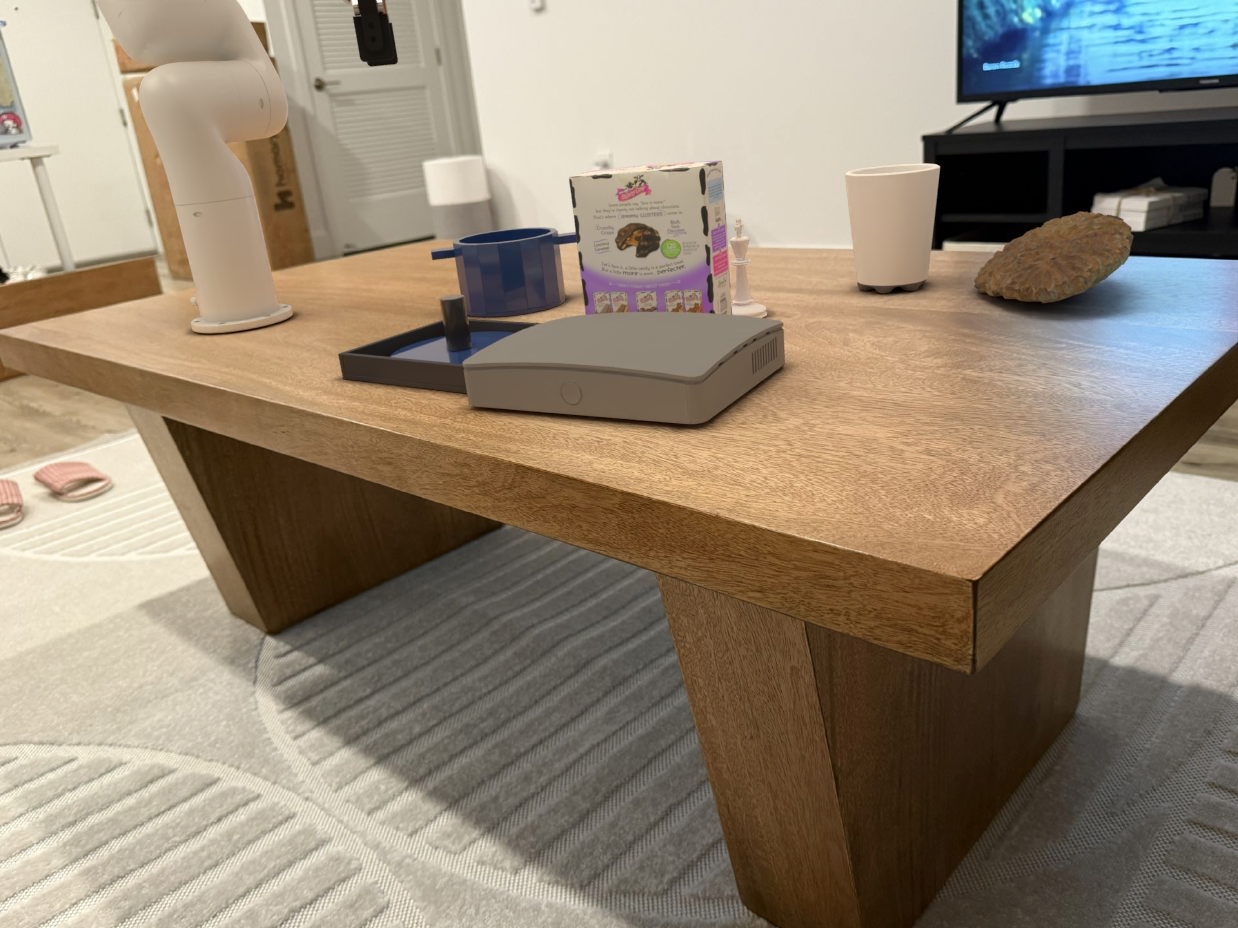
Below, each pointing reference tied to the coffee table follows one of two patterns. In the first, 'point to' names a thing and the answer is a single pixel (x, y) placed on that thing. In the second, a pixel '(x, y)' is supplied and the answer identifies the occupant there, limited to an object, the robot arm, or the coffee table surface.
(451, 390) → the tray
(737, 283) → the chess piece
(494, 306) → the pot
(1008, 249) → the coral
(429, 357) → the lid
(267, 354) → the coffee table surface
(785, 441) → the coffee table surface
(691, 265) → the candy box
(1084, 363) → the coffee table surface
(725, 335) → the electronic device
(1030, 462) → the coffee table surface
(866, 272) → the cup
